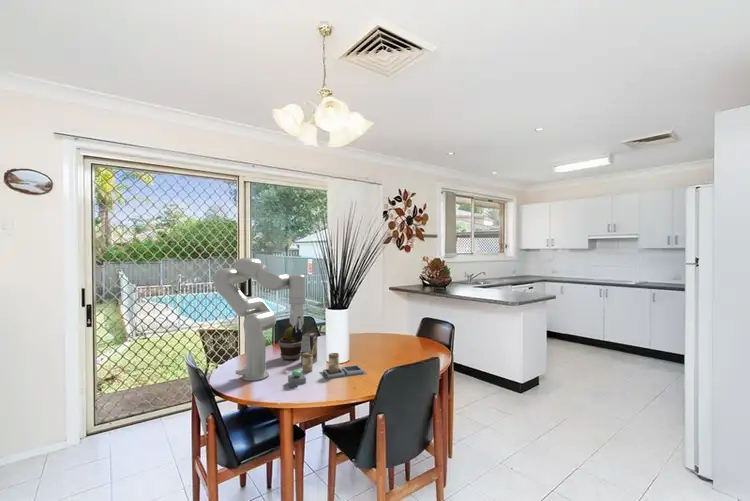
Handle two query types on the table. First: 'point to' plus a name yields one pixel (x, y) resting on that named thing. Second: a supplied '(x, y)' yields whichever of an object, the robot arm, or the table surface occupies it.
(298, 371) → the button
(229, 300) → the robot arm
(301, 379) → the console
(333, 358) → the cylinder
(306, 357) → the cylinder
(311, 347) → the coffee box
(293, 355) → the flowerpot
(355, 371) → the tray
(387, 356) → the table surface
